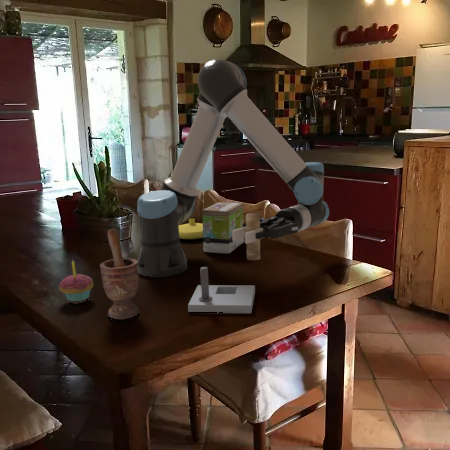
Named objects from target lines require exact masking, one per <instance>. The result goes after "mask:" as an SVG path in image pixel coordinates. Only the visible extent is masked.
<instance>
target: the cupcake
mask: <svg viewBox="0 0 450 450" xmlns="http://www.w3.org/2000/svg"><path fill="white" fill-rule="evenodd" d="M71 267H72V274H70V275H67V276H66V277H64V278H63V279H61V281H60V282H59V283H58V287H59V288H58V290H59V291H60V292H61V293H63V294H64V295H65V298H66V299H67V301H68V300H70V301H82V300H85V299H87V298H88V297H90V293H91V290H92V288H94V280H93V279H92V277H90V276H89V275H86V274H82V273H77V271H76V264H75V261H74V259H72V260H71ZM88 299H89V298H88Z"/></svg>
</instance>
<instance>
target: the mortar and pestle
mask: <svg viewBox="0 0 450 450" xmlns="http://www.w3.org/2000/svg"><path fill="white" fill-rule="evenodd" d="M107 240H108V243H109V246H110V247H109V248H110V250H111V252H112V253H111V254H112V258H111V259H107V260H105V261H103V262H101V263H100V264H99V267H100V274H101V280H102V281H101V282H102V287H103V290H104V292H105V294H106V296H107V298H108V299H109V300H111V301H112V306H110V307H109V309H108V312H107V317H108V316H109V317H111V318H114V319H125V318H130V317H133V316H135V315H137V314H138V313H139V314H140V309H139V308H138V306H137V305H136V304H135V303H134V302H133V298H134V297H135V296H137V295H136V294H137V293H138V289H139V283H140V280H139V279H140V277H139V276H140V274H138V259H135V258H130V257H129V258H128V257H127V258H126V257H123V255H122V248H121V236H120V232H119V229H117V228H111V229H108V231H107Z"/></svg>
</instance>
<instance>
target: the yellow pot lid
mask: <svg viewBox="0 0 450 450" xmlns="http://www.w3.org/2000/svg"><path fill="white" fill-rule="evenodd" d="M195 221H196V220H195V218H189V219H188V223H184V224H183V223H182V224H180V225H179V238H180V239H182V240H199V239H203V222H202V223H200V222H195Z"/></svg>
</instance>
